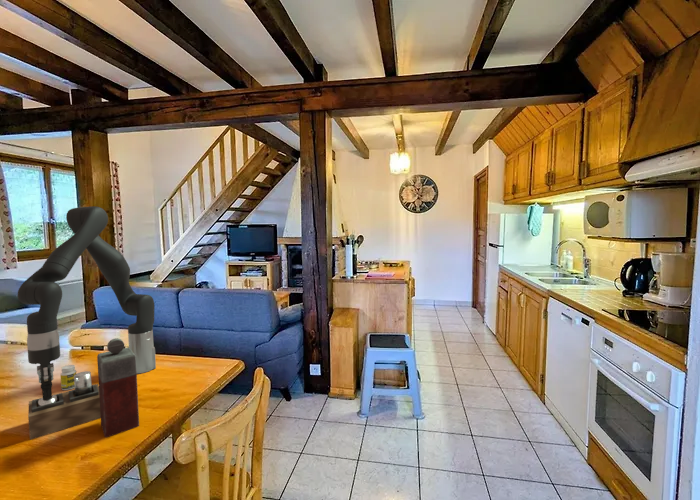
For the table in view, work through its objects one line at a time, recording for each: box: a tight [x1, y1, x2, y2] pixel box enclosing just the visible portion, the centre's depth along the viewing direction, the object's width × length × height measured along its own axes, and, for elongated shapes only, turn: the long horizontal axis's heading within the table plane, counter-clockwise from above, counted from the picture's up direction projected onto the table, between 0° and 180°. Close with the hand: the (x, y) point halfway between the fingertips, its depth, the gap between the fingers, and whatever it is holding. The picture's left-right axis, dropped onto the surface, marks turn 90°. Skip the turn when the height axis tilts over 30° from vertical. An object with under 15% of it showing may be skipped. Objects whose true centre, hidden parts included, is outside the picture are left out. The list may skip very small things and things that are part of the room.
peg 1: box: [38, 394, 57, 406], centre depth 110 cm, size 4×4×7 cm
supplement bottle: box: [60, 364, 77, 391], centre depth 135 cm, size 5×5×8 cm
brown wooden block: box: [27, 383, 101, 440], centre depth 113 cm, size 18×12×8 cm, turn 132°
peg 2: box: [74, 370, 92, 397], centre depth 115 cm, size 4×4×7 cm
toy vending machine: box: [96, 337, 140, 438], centre depth 110 cm, size 9×11×28 cm
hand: (47, 398), depth 109 cm, fingers closed
